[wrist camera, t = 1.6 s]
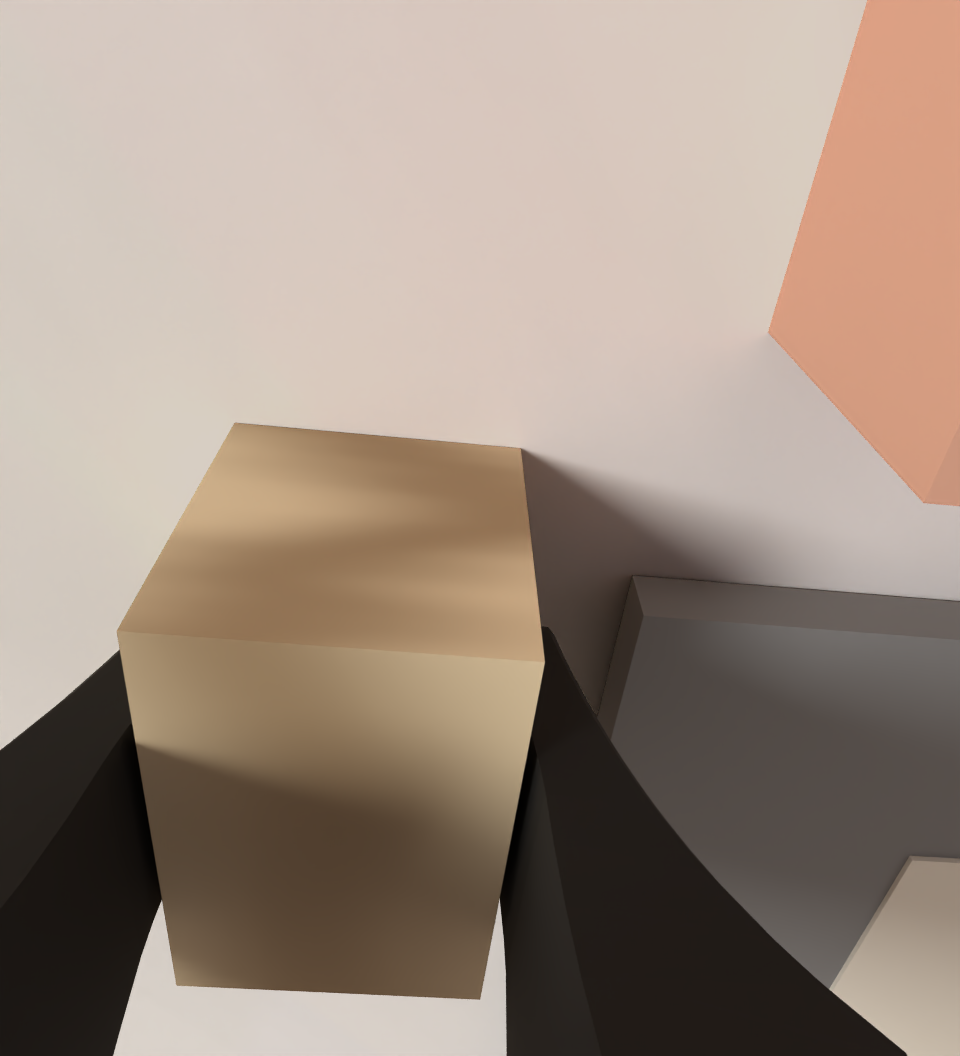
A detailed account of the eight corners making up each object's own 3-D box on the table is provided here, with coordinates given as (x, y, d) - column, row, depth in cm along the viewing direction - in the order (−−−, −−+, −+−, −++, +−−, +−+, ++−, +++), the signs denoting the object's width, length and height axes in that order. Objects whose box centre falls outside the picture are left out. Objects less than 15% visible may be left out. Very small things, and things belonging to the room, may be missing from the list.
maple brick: (520, 448, 12) (545, 662, 8) (477, 745, 15) (480, 999, 11) (234, 422, 11) (116, 630, 8) (253, 730, 15) (177, 985, 11)
